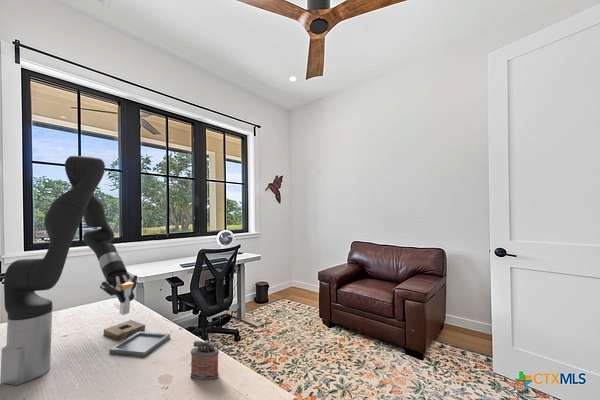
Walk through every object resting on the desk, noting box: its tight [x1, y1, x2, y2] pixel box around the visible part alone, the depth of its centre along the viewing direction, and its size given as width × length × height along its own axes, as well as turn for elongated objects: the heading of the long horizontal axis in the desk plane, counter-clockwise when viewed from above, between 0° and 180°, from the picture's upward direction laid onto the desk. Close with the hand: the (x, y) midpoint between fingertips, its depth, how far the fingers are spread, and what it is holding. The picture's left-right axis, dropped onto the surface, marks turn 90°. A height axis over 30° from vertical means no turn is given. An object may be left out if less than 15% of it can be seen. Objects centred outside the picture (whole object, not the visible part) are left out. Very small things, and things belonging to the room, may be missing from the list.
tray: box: [109, 331, 171, 358], centre depth 94 cm, size 13×13×2 cm
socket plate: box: [103, 319, 146, 341], centre depth 104 cm, size 10×10×2 cm
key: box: [118, 281, 133, 316], centre depth 104 cm, size 4×2×12 cm, turn 151°
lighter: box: [190, 339, 220, 382], centre depth 76 cm, size 8×3×10 cm, turn 84°
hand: (128, 300), depth 103 cm, fingers closed on key, 2 cm apart
